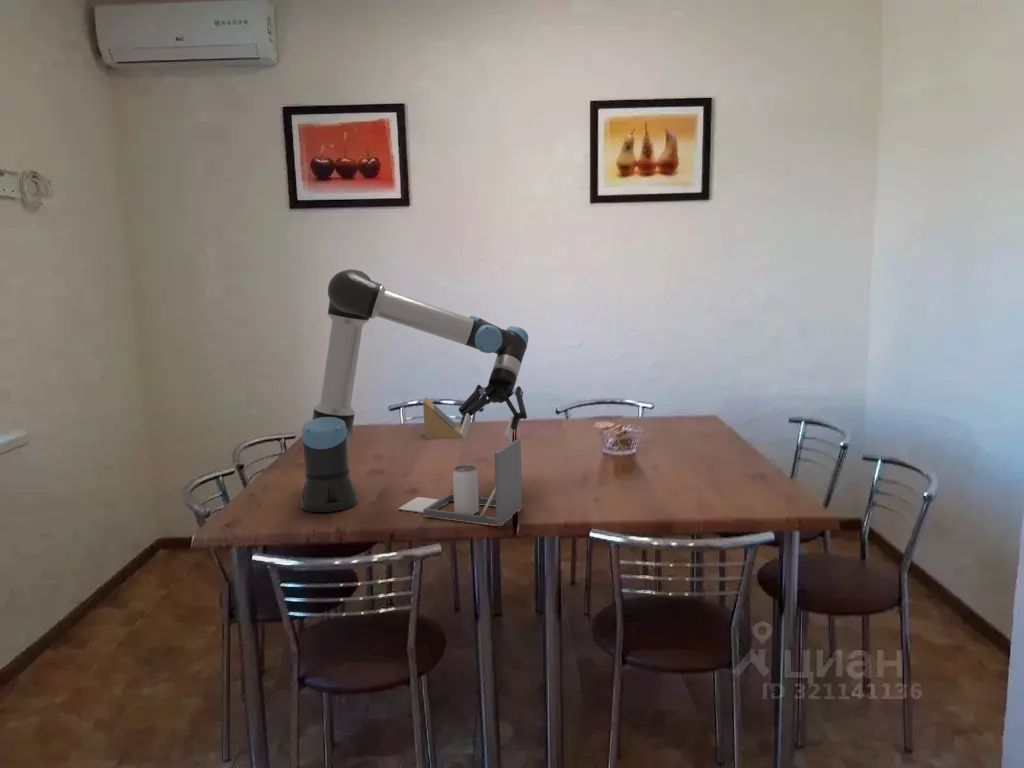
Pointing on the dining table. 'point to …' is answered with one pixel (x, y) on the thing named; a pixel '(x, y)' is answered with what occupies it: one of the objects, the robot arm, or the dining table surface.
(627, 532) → the dining table surface
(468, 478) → the can
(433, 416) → the sandwich container
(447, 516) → the grey frame and panel
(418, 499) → the pad
